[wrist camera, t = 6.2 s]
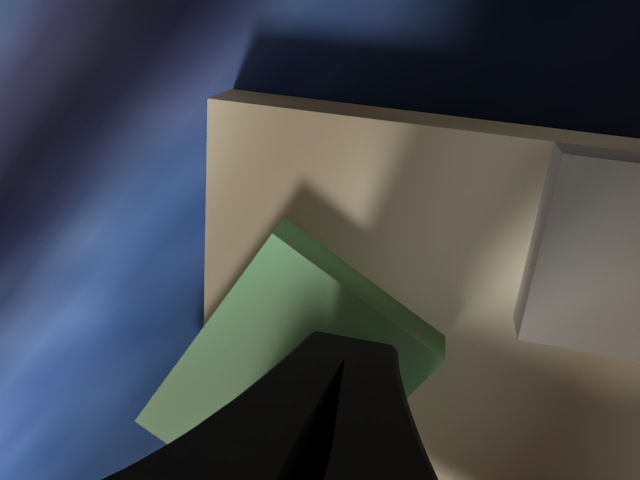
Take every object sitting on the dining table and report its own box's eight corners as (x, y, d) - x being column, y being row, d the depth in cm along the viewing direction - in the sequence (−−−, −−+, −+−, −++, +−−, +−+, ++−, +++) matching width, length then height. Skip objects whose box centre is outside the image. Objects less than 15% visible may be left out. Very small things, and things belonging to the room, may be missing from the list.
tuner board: (1219, 208, 9) (1420, 263, 7) (886, 694, 13) (958, 808, 11) (176, 82, 11) (123, 97, 9) (177, 525, 15) (140, 595, 14)
